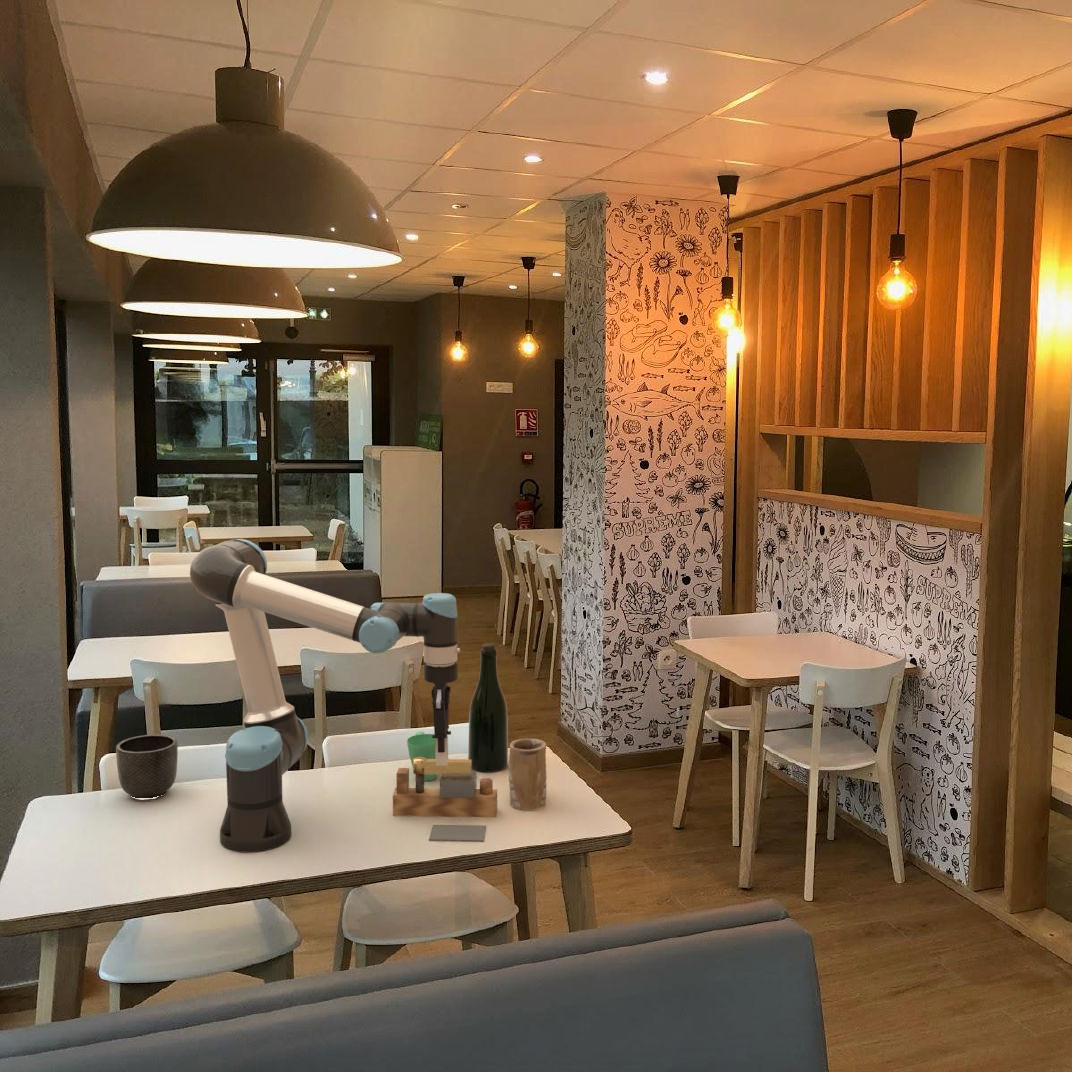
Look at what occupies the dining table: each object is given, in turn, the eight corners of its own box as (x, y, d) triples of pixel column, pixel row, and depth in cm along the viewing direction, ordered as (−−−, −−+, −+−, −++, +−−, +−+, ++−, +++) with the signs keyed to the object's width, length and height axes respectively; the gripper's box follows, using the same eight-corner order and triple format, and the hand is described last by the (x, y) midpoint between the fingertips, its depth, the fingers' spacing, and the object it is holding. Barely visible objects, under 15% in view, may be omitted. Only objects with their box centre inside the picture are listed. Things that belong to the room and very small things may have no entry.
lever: (412, 774, 239) (412, 761, 239) (414, 770, 242) (414, 756, 242) (470, 775, 239) (470, 762, 239) (471, 771, 242) (471, 757, 242)
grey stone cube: (439, 797, 238) (439, 780, 237) (442, 786, 245) (442, 770, 244) (474, 798, 238) (474, 781, 237) (476, 787, 245) (476, 770, 244)
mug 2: (520, 813, 242) (521, 751, 240) (494, 795, 253) (494, 736, 251) (553, 806, 247) (554, 745, 245) (525, 789, 257) (526, 730, 256)
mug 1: (449, 782, 262) (449, 744, 260) (411, 786, 259) (411, 747, 257) (436, 763, 275) (436, 726, 274) (400, 766, 272) (400, 730, 271)
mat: (428, 840, 226) (428, 839, 226) (433, 826, 234) (433, 824, 234) (483, 841, 226) (483, 840, 226) (486, 827, 234) (486, 825, 234)
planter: (143, 810, 241) (141, 756, 240) (105, 797, 249) (103, 745, 247) (191, 791, 253) (189, 740, 252) (153, 780, 261) (152, 730, 259)
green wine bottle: (467, 773, 268) (468, 648, 264) (468, 759, 279) (469, 639, 275) (507, 773, 269) (509, 648, 265) (507, 759, 279) (508, 639, 275)
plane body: (392, 815, 240) (392, 774, 239) (395, 807, 244) (395, 767, 243) (496, 817, 240) (496, 775, 238) (497, 809, 244) (497, 768, 243)
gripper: (454, 670, 225) (455, 774, 228) (460, 655, 238) (461, 754, 241) (420, 670, 225) (421, 774, 228) (427, 655, 238) (428, 754, 241)
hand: (442, 764), depth 234 cm, fingers closed
